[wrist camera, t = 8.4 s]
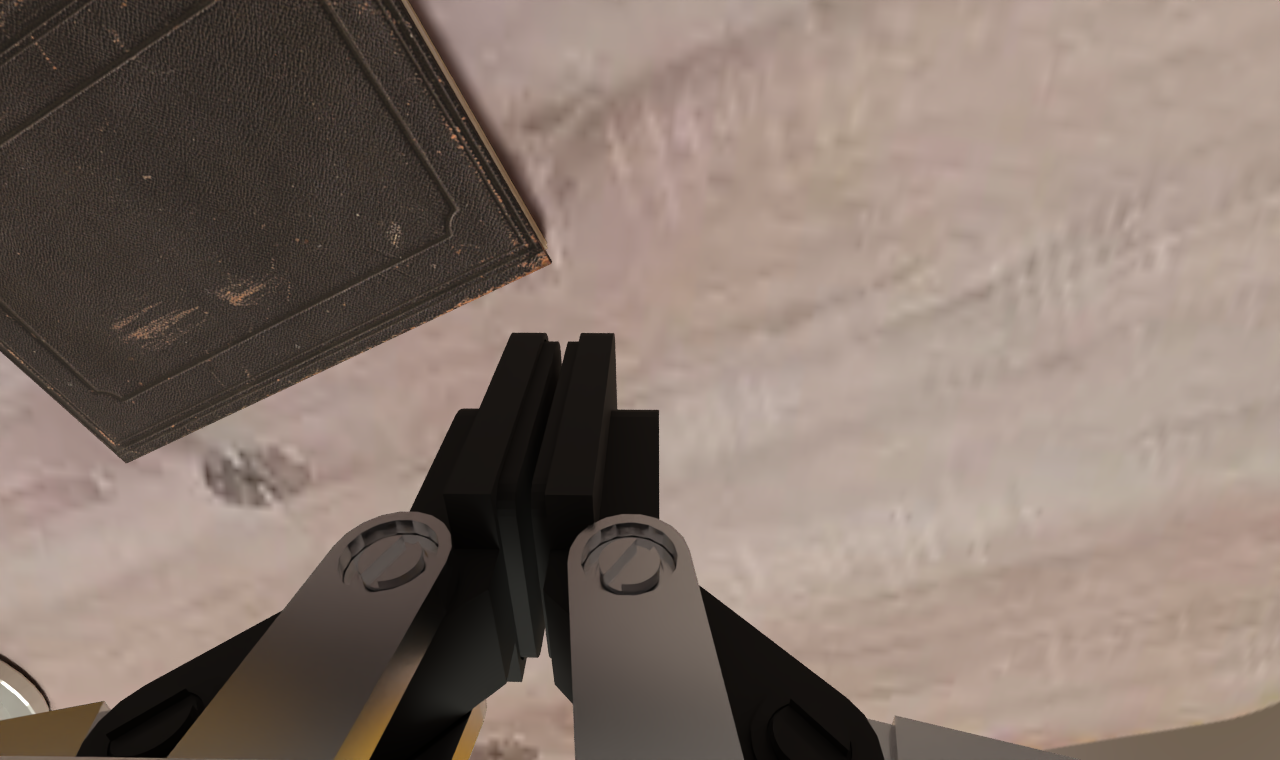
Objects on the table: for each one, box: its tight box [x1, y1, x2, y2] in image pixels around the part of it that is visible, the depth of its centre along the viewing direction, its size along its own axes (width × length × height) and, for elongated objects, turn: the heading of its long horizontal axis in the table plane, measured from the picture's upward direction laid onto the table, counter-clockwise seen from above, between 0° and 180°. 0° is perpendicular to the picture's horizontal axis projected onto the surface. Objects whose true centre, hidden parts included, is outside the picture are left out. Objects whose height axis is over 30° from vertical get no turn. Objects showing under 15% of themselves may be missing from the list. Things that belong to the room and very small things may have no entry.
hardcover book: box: [0, 0, 552, 463], centre depth 25 cm, size 16×23×2 cm
